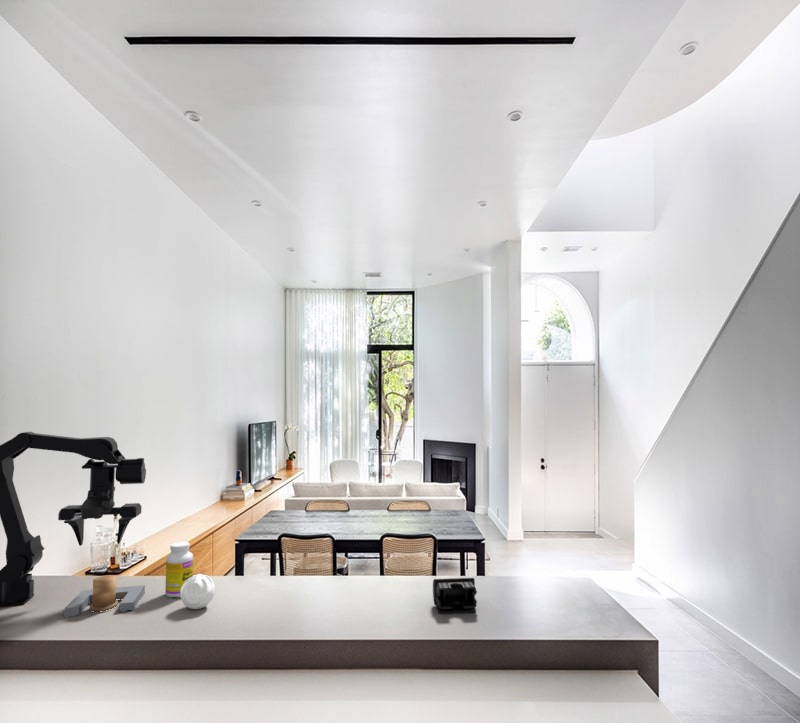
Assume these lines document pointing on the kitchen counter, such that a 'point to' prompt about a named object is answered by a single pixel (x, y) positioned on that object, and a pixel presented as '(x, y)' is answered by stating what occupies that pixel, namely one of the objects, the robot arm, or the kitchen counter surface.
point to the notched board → (128, 595)
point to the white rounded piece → (197, 591)
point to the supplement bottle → (178, 568)
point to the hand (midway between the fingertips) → (99, 544)
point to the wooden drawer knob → (104, 593)
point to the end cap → (454, 595)
